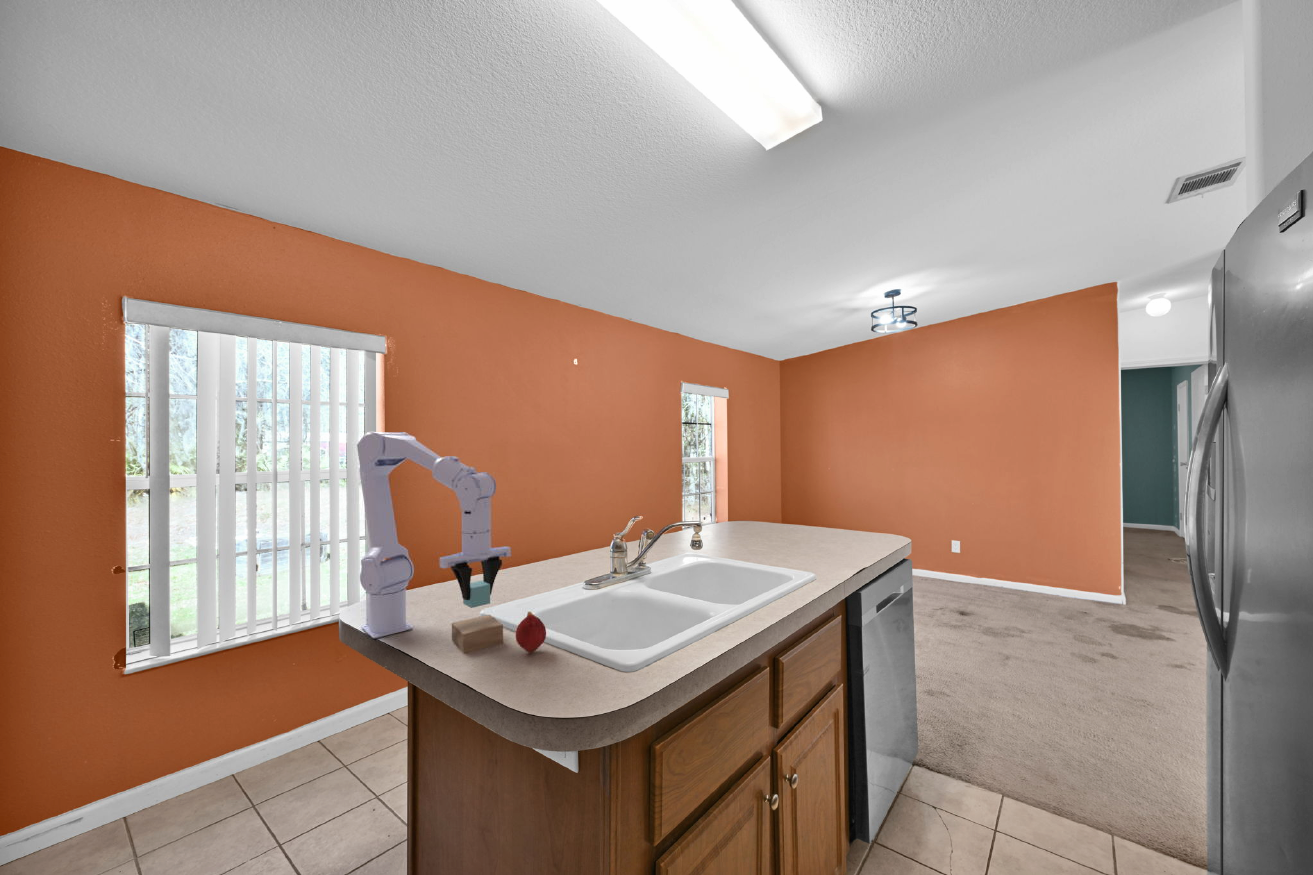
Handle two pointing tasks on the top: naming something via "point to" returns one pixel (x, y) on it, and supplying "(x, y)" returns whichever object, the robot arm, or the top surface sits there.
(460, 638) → the walnut block
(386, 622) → the robot arm
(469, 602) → the teal cube
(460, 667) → the top surface
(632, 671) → the top surface
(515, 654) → the top surface
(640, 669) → the top surface
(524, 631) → the onion
